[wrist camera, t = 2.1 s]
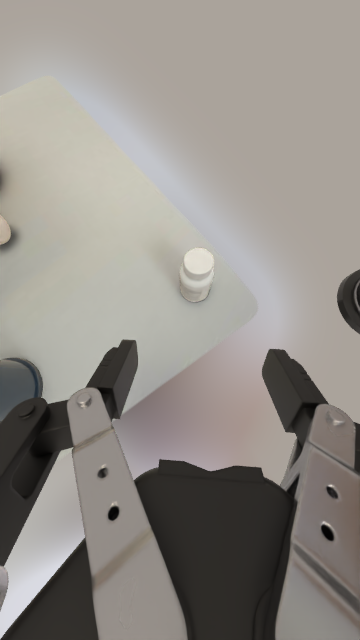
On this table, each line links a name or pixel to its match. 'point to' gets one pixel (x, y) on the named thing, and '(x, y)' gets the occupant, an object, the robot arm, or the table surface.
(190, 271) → the pill bottle
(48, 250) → the table surface
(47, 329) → the table surface
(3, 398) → the cup
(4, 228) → the egg
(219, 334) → the table surface
